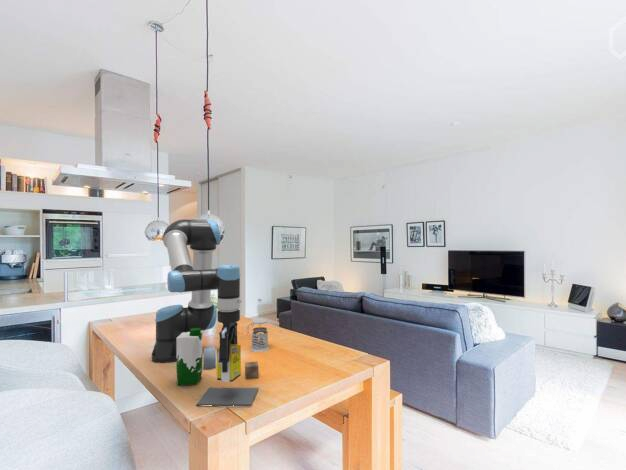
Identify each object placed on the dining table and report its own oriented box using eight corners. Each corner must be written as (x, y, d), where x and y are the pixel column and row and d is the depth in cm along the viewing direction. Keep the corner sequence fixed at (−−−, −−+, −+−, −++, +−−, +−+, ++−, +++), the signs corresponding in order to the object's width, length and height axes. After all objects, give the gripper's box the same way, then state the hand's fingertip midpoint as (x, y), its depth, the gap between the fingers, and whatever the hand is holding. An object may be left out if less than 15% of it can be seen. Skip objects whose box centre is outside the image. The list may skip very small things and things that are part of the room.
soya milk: (198, 385, 124) (198, 332, 124) (173, 386, 123) (173, 332, 124) (204, 376, 133) (204, 326, 133) (181, 377, 132) (181, 326, 132)
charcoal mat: (196, 406, 109) (196, 403, 109) (209, 389, 121) (209, 387, 121) (251, 406, 108) (251, 404, 108) (258, 390, 120) (258, 387, 120)
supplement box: (241, 375, 117) (241, 344, 117) (231, 382, 111) (231, 349, 111) (226, 373, 118) (226, 342, 119) (216, 380, 113) (216, 347, 113)
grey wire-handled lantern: (265, 352, 161) (265, 300, 161) (243, 350, 163) (243, 299, 163) (272, 346, 170) (272, 297, 171) (251, 344, 173) (251, 296, 173)
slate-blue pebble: (201, 369, 140) (201, 350, 140) (205, 365, 145) (205, 346, 145) (213, 369, 140) (213, 350, 140) (217, 365, 144) (217, 346, 145)
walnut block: (245, 379, 129) (245, 367, 130) (245, 374, 134) (245, 362, 134) (258, 378, 131) (258, 365, 131) (257, 373, 135) (257, 361, 136)
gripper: (231, 316, 105) (231, 389, 105) (246, 304, 125) (246, 365, 125) (208, 316, 105) (208, 389, 105) (226, 304, 125) (226, 365, 125)
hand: (228, 376), depth 115 cm, fingers closed on supplement box, 7 cm apart
